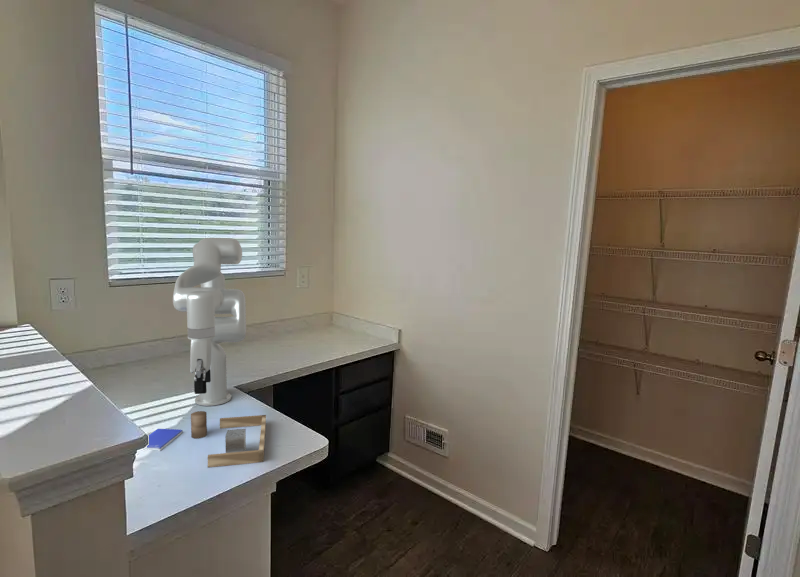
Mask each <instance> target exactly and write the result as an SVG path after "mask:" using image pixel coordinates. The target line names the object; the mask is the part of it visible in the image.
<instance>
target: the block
mask: <svg viewBox="0 0 800 577" xmlns="http://www.w3.org/2000/svg"><path fill="white" fill-rule="evenodd" d="M246 436H247V434H246V428H237V429H236V428H235V429H227V430H226V434H225V440H224V441H225V453H232V452H243V451H246V450H245V449H246V448H247V447H246V446H247V443H246V442H247V441H246V440H247V439H246Z"/></svg>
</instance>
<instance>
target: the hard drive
mask: <svg viewBox="0 0 800 577" xmlns="http://www.w3.org/2000/svg"><path fill="white" fill-rule="evenodd" d="M182 434H183V429H179V428H178V429H176V428H175V429H173V428H171V429H170V428H157V429H156V430H154V431H153V432H151V433H150V434H148V435H149V445H148V446H147V448H145V449H147V450H148V449H149V450H158V451H157V452H161V451H163V449H164V448H166V447H167V446H169V444H171V443H172V442H173V441H174V440H175V439H176V438H178V437H179V436H180V435H182ZM145 449H143V450H142V451H147V450H145ZM160 450H161V451H160Z"/></svg>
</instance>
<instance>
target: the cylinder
mask: <svg viewBox="0 0 800 577" xmlns="http://www.w3.org/2000/svg"><path fill="white" fill-rule="evenodd" d="M207 426H208V419H207V411H204V410H199V411H194V412H191V414H190V427H191V428H190V429H191V431H190V432H191V434H190V435H191V436H190V437H191V438H192V439H193V440H194V439H196V440H198V439H203V438H205V437H206V436H208V429H207V428H208V427H207Z"/></svg>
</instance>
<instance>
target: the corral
mask: <svg viewBox="0 0 800 577" xmlns="http://www.w3.org/2000/svg"><path fill="white" fill-rule="evenodd" d="M257 426H260V433H259V446H258V449H256V450H255V449H254V450H245V451H243V452H232V453H226V452H223V453H222V452H221V453H212V454H208V455H207V468H216V467H217V468H218V467H226V466H236V465H237V466H238V465H245V464H246V465H247V464H248V465H249V464H255V463H264V459H265V458H264V456H265V444H266V432H267V431H266V428H267V414H260V415H245V416H230V417H220V418H219V429H221V430H222V429H231V428H243V427H257Z"/></svg>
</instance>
